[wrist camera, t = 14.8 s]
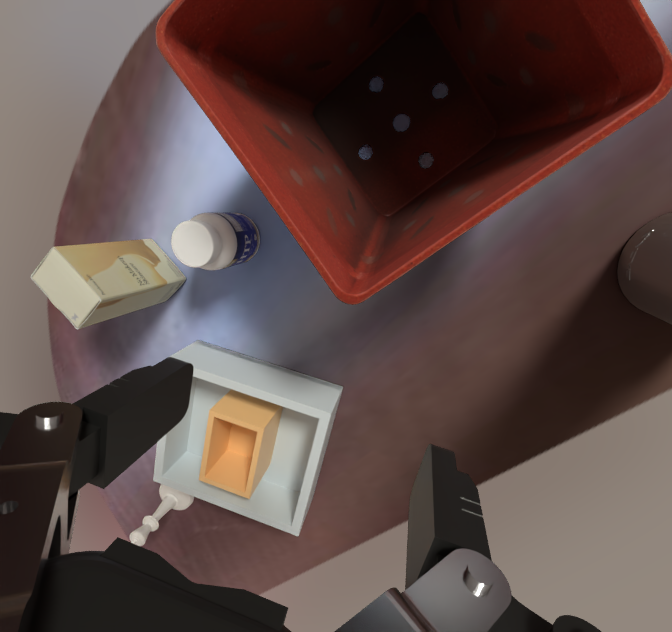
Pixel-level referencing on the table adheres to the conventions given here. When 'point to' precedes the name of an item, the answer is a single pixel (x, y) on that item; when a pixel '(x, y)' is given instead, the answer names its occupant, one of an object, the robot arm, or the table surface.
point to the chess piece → (161, 512)
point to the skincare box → (106, 279)
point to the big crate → (290, 446)
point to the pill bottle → (215, 240)
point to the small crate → (239, 442)
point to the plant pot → (408, 110)
